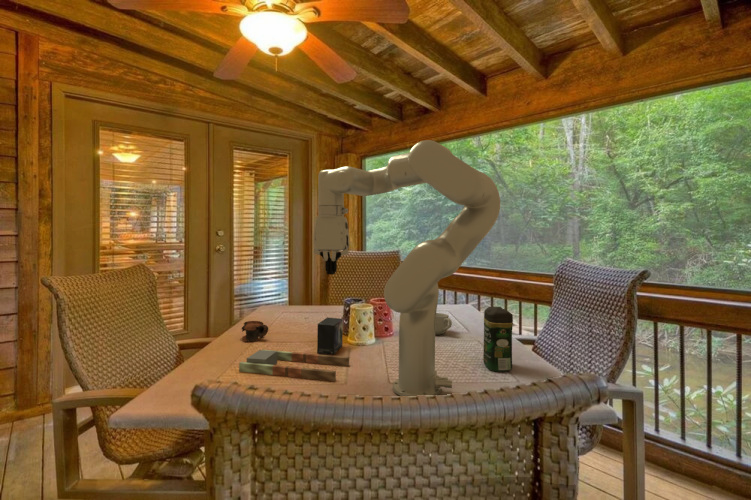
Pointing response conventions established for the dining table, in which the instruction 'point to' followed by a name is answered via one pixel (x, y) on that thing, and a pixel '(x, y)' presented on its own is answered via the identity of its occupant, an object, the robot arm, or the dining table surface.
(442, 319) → the teacup
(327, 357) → the channel
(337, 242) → the robot arm
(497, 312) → the coffee jar
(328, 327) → the small box
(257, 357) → the grey block
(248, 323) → the pottery mug
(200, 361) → the dining table surface
